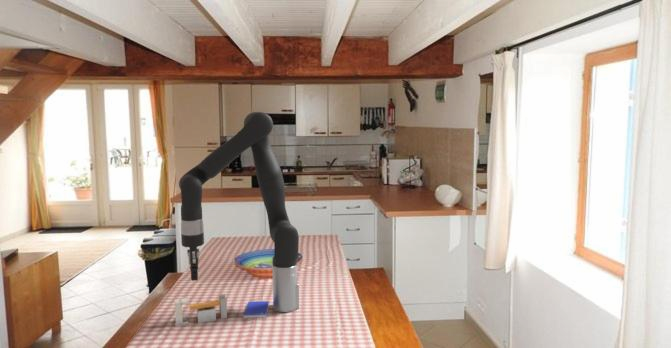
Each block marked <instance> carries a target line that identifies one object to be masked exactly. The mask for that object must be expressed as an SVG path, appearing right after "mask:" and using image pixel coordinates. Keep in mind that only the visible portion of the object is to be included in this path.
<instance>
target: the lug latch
mask: <svg viewBox="0 0 671 348" xmlns="http://www.w3.org/2000/svg"><path fill="white" fill-rule="evenodd" d="M184 305H189V300H188V297H185V298H184V297H182V298H178V299H177V298H176V299H174V313H175V315H174V316H175V317H174V319H175V318H176V321H175V323H180V322H184V321H183V318H182V316H183V306H184Z"/></svg>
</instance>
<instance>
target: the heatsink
mask: <svg viewBox="0 0 671 348" xmlns="http://www.w3.org/2000/svg"><path fill="white" fill-rule="evenodd" d="M216 311H217V309H216V306H214V307H207V308H201V309H196V317H197V322H198V324H202V323H209V322H216V321H217V316H216V315H217V314H216Z"/></svg>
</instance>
